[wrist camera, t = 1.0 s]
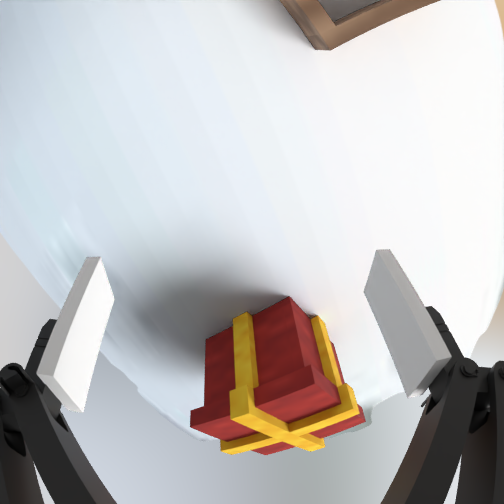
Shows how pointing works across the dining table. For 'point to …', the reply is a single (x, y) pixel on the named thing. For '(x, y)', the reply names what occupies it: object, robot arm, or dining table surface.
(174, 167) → the dining table surface
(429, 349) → the robot arm
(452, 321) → the dining table surface
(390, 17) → the cradle
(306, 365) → the gift box
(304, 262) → the dining table surface
